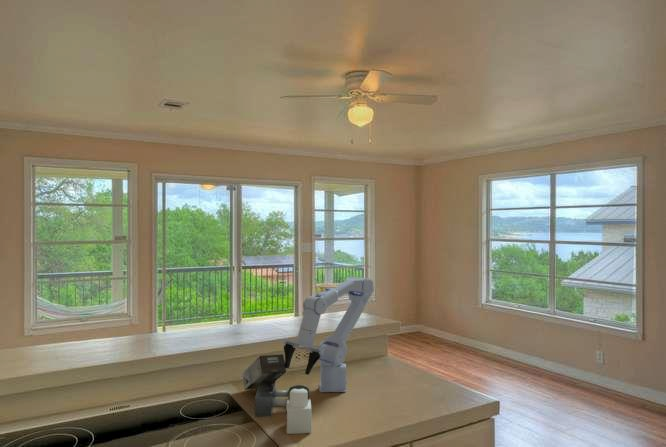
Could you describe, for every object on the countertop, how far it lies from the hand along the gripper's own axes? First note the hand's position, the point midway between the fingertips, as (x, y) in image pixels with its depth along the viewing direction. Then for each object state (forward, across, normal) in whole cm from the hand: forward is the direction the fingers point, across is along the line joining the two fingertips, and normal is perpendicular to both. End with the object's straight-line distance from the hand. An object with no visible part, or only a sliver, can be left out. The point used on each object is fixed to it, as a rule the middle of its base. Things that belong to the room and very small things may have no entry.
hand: (296, 371), depth 151 cm
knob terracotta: (+12, 0, -5) cm, 13 cm away
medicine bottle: (+15, +10, -12) cm, 22 cm away
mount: (+13, -6, -3) cm, 15 cm away
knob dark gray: (+10, -3, +2) cm, 11 cm away
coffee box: (+8, -18, +9) cm, 22 cm away
